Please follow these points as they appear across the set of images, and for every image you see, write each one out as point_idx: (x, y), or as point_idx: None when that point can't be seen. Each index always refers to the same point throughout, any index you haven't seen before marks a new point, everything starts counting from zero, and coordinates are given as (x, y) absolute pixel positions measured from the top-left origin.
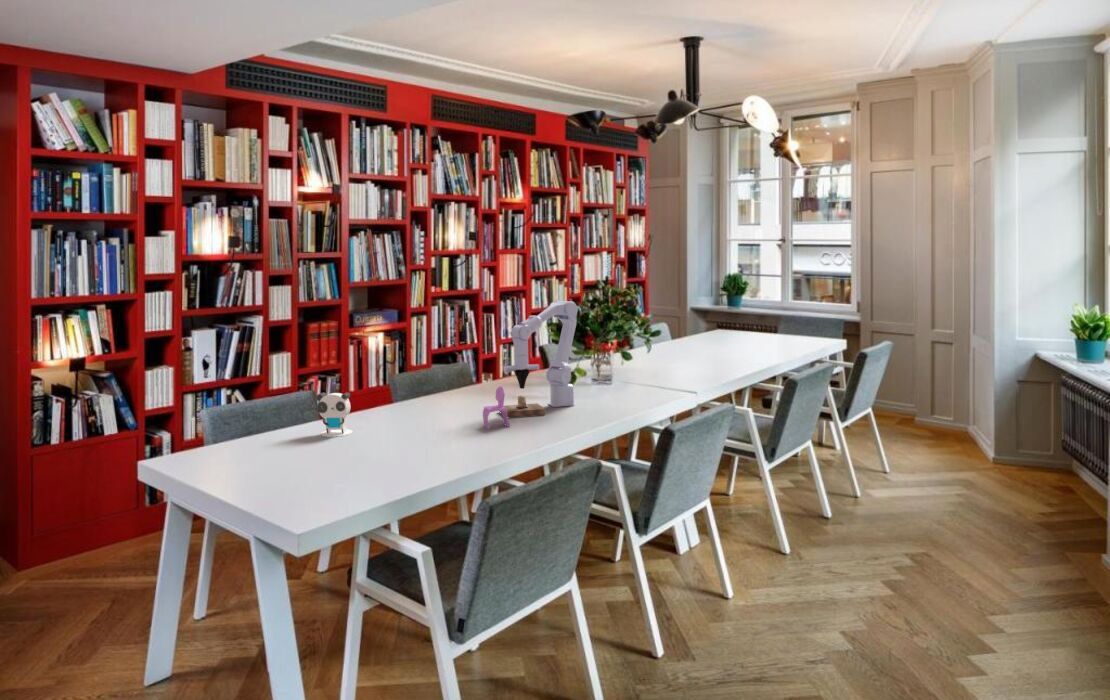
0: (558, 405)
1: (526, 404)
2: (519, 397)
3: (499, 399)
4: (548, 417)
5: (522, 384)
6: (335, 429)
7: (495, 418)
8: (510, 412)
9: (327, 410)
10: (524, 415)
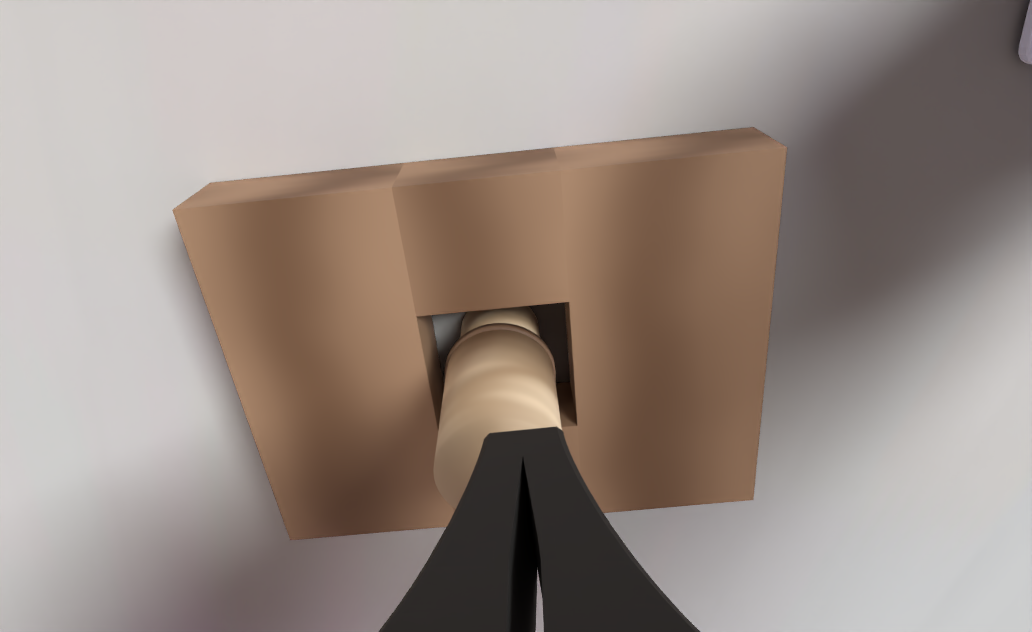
0: None
1: (601, 195)
2: (455, 504)
3: None
4: (720, 542)
5: (532, 607)
6: None
7: (194, 479)
8: (341, 526)
9: None
10: None
